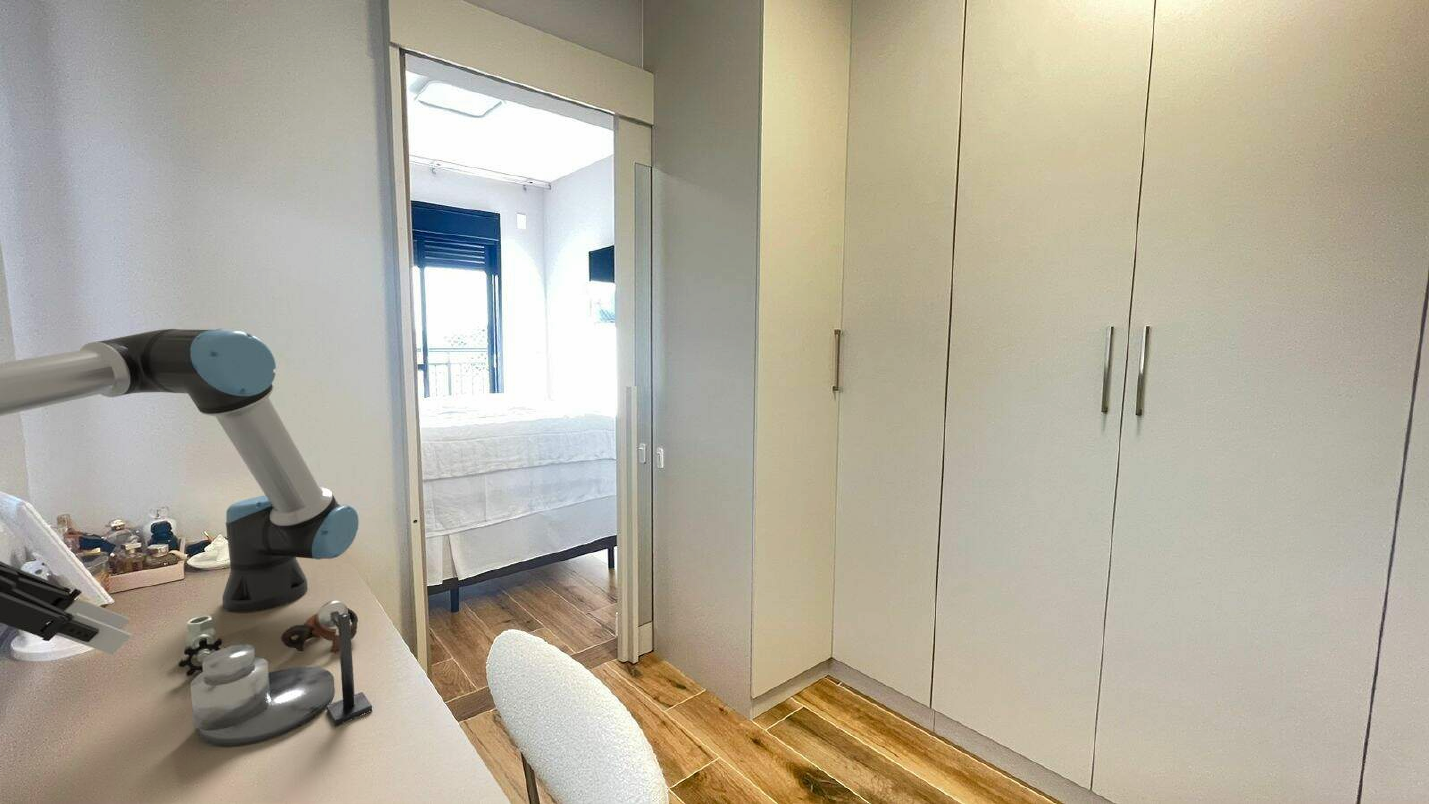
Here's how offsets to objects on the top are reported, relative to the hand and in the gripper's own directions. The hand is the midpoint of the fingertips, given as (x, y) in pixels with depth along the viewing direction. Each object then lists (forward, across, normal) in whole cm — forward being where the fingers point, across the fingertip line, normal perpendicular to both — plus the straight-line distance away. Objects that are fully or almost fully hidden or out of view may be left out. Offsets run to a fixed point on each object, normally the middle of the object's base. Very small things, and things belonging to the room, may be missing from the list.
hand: (121, 635), depth 78 cm
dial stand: (+30, +7, +4) cm, 31 cm away
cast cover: (+19, 0, -4) cm, 20 cm away
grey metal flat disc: (+24, 0, -2) cm, 24 cm away
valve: (+20, -25, -6) cm, 33 cm away
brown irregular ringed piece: (+31, -16, +5) cm, 35 cm away
